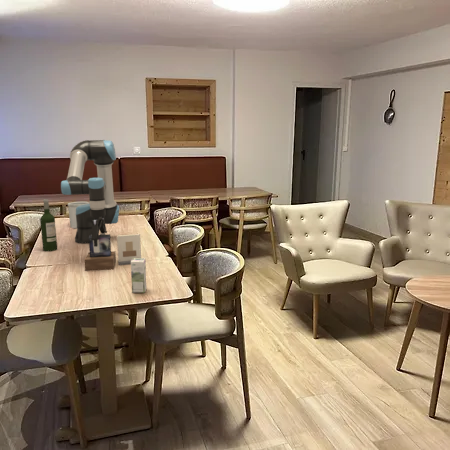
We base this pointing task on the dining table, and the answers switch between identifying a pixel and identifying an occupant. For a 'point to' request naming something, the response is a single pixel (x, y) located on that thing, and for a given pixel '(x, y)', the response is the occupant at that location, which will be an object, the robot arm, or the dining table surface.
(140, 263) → the syrup box
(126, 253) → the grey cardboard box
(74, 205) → the utensil holder
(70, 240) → the dining table surface
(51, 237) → the wine bottle
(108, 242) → the small box
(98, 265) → the walnut block
